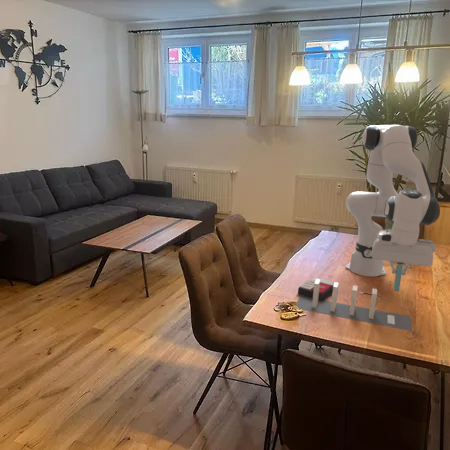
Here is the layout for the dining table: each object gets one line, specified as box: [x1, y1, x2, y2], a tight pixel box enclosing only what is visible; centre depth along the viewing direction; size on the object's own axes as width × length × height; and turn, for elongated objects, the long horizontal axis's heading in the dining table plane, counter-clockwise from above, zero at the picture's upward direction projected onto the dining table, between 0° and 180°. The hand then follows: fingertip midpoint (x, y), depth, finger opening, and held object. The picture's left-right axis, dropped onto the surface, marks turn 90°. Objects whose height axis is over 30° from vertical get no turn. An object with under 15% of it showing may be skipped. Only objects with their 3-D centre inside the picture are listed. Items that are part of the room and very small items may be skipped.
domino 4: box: [369, 288, 378, 319], centre depth 157 cm, size 2×5×10 cm, turn 160°
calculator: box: [297, 276, 335, 301], centre depth 177 cm, size 11×4×15 cm
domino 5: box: [393, 262, 404, 292], centre depth 151 cm, size 2×5×10 cm, turn 160°
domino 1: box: [312, 278, 321, 308], centre depth 163 cm, size 2×5×10 cm, turn 160°
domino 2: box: [330, 281, 340, 312], centre depth 161 cm, size 2×5×10 cm, turn 160°
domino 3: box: [349, 284, 359, 315], centre depth 159 cm, size 2×5×10 cm, turn 160°
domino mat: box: [294, 295, 413, 332], centre depth 160 cm, size 12×42×1 cm, turn 70°
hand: (398, 273), depth 151 cm, fingers closed on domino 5, 2 cm apart
